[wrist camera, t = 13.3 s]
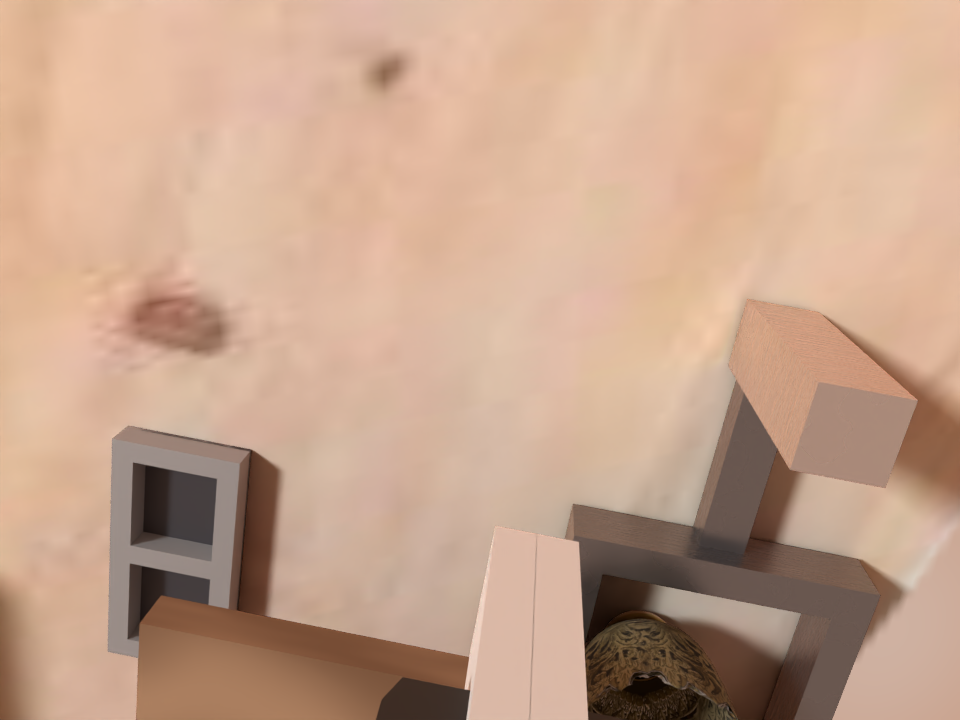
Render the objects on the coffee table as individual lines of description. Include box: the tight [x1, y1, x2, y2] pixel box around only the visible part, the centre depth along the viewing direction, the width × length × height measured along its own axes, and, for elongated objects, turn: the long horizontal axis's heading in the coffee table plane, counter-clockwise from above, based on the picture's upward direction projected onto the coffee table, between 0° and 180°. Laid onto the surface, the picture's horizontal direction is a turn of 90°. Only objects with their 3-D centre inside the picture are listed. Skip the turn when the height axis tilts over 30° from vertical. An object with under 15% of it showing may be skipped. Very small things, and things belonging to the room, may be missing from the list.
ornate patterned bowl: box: [585, 610, 739, 720], centre depth 37 cm, size 8×7×8 cm
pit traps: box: [108, 426, 251, 658], centre depth 40 cm, size 12×6×2 cm, turn 170°
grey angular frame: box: [565, 299, 918, 720], centre depth 34 cm, size 24×13×10 cm, turn 170°
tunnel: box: [136, 595, 469, 720], centre depth 35 cm, size 15×12×14 cm
